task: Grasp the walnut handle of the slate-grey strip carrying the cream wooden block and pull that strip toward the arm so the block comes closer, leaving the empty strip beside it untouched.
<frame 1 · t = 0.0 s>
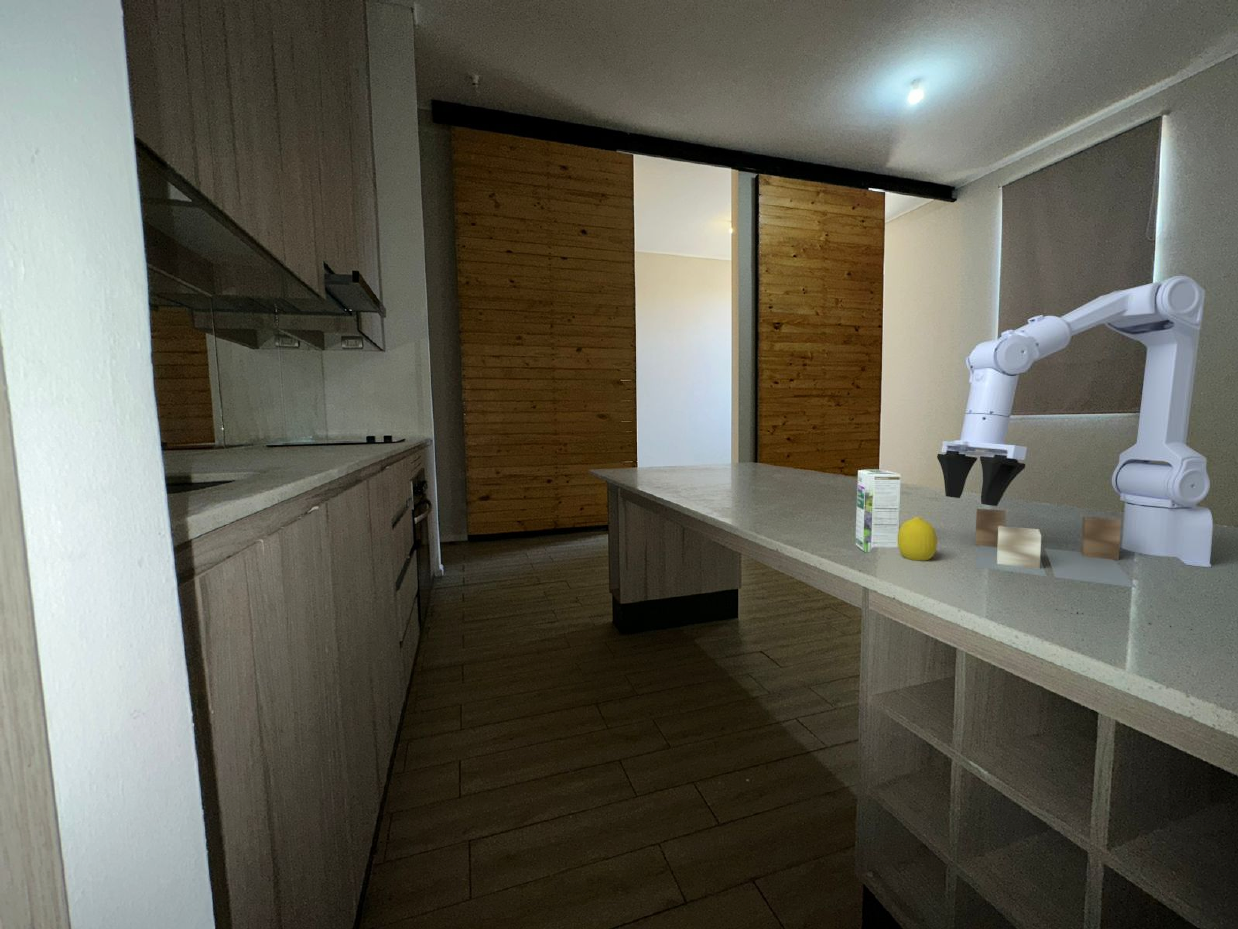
hand: (969, 501, 79), 11 cm above the counter, tool pointing down, fingers open, 7 cm apart
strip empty: (1087, 549, 74), point 4 cm above the counter, slide at 0.0 cm
lemon: (916, 566, 81), on the counter
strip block: (1007, 541, 80), point 4 cm above the counter, slide at 0.0 cm, touching block
syrup box: (876, 550, 91), on the counter
block: (1017, 562, 77), point 1 cm above the counter, touching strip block
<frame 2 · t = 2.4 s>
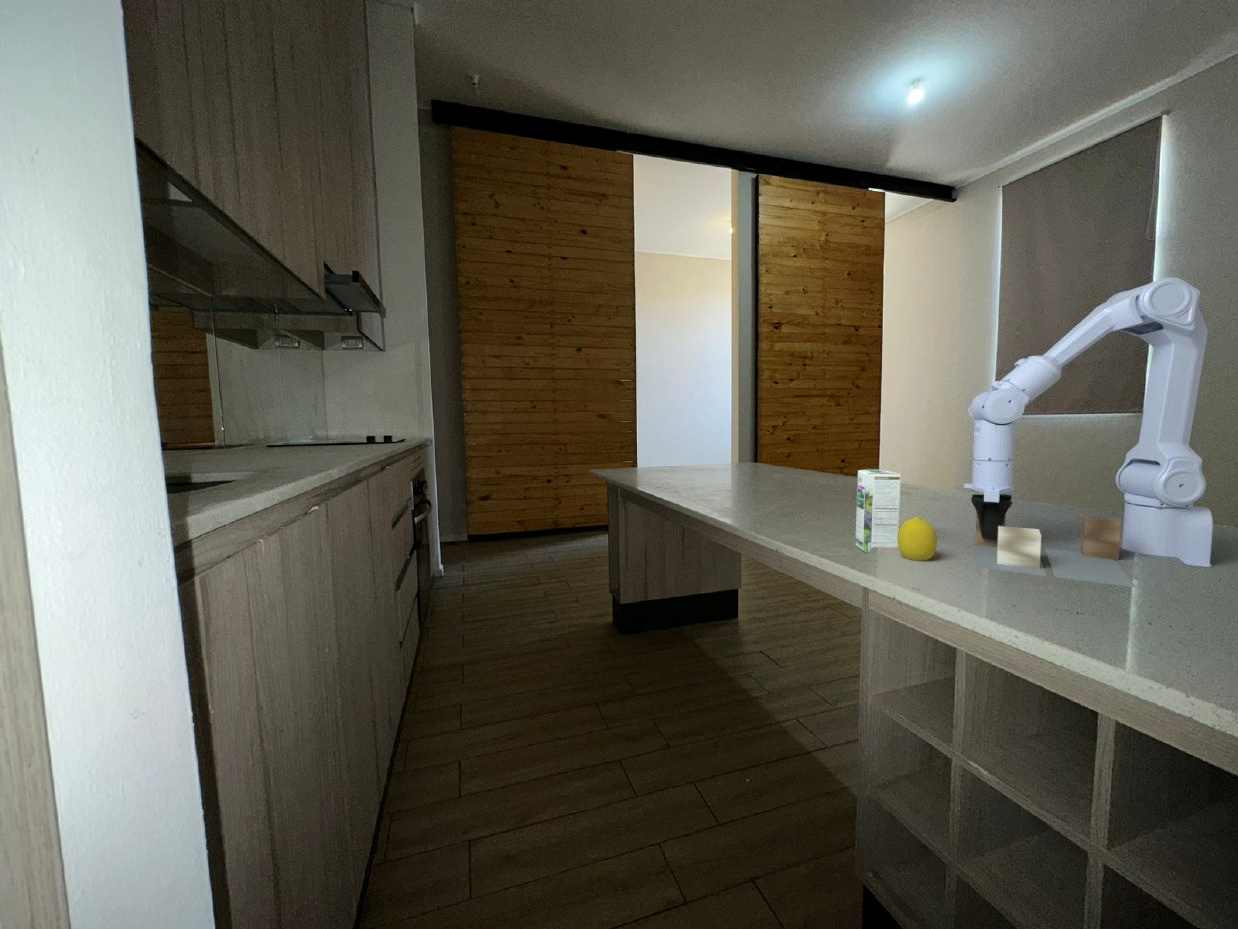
hand: (989, 536, 87), 3 cm above the counter, tool pointing down, fingers closed on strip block, 3 cm apart
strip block: (1007, 541, 80), point 4 cm above the counter, slide at 0.0 cm, touching block, gripper
everything else where it was.
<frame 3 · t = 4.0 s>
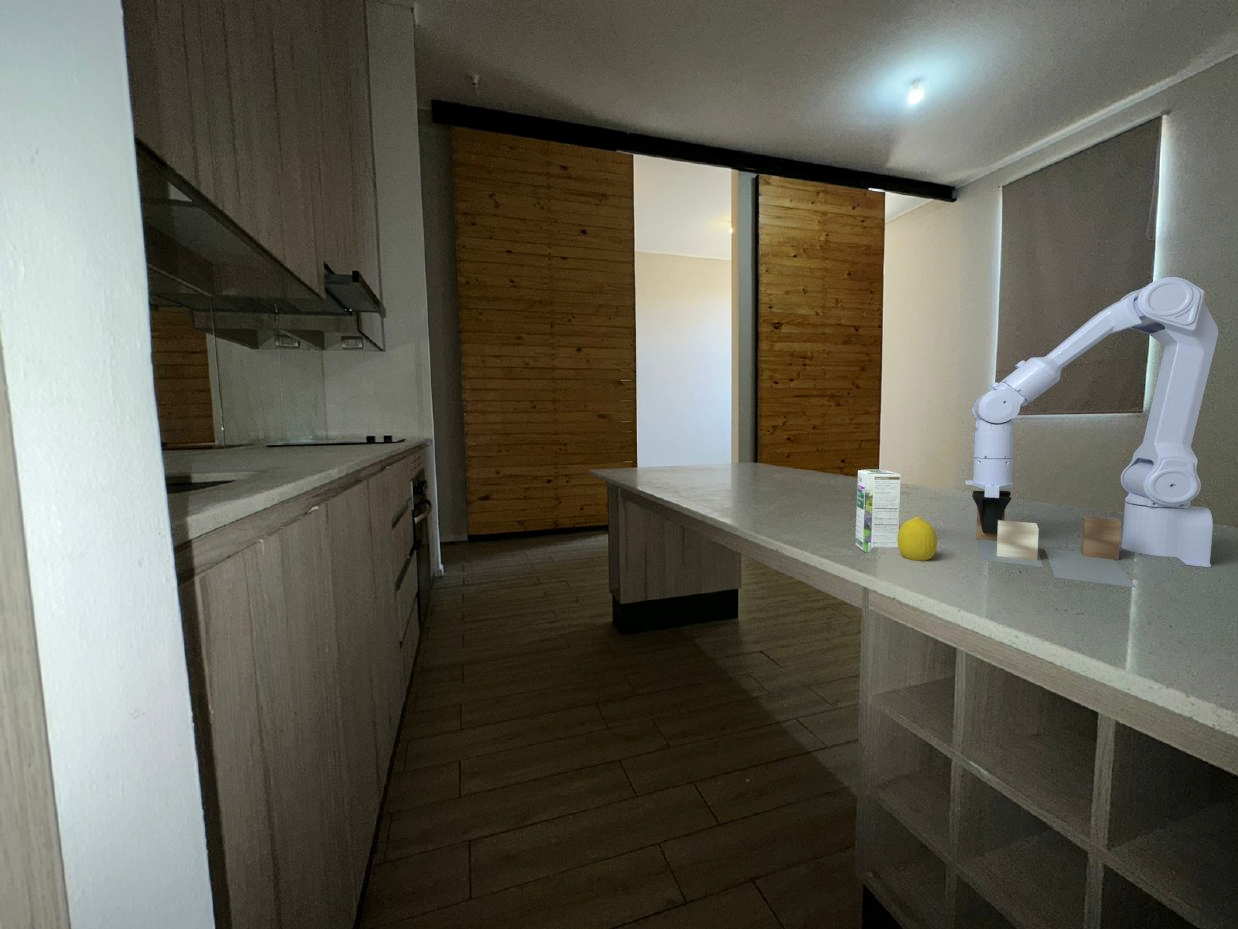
hand: (989, 531, 91), 3 cm above the counter, tool pointing down, fingers closed on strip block, 3 cm apart
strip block: (1006, 535, 84), point 4 cm above the counter, slide at 5.1 cm, touching block, gripper
block: (1016, 554, 81), point 1 cm above the counter, touching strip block
everything else where it was.
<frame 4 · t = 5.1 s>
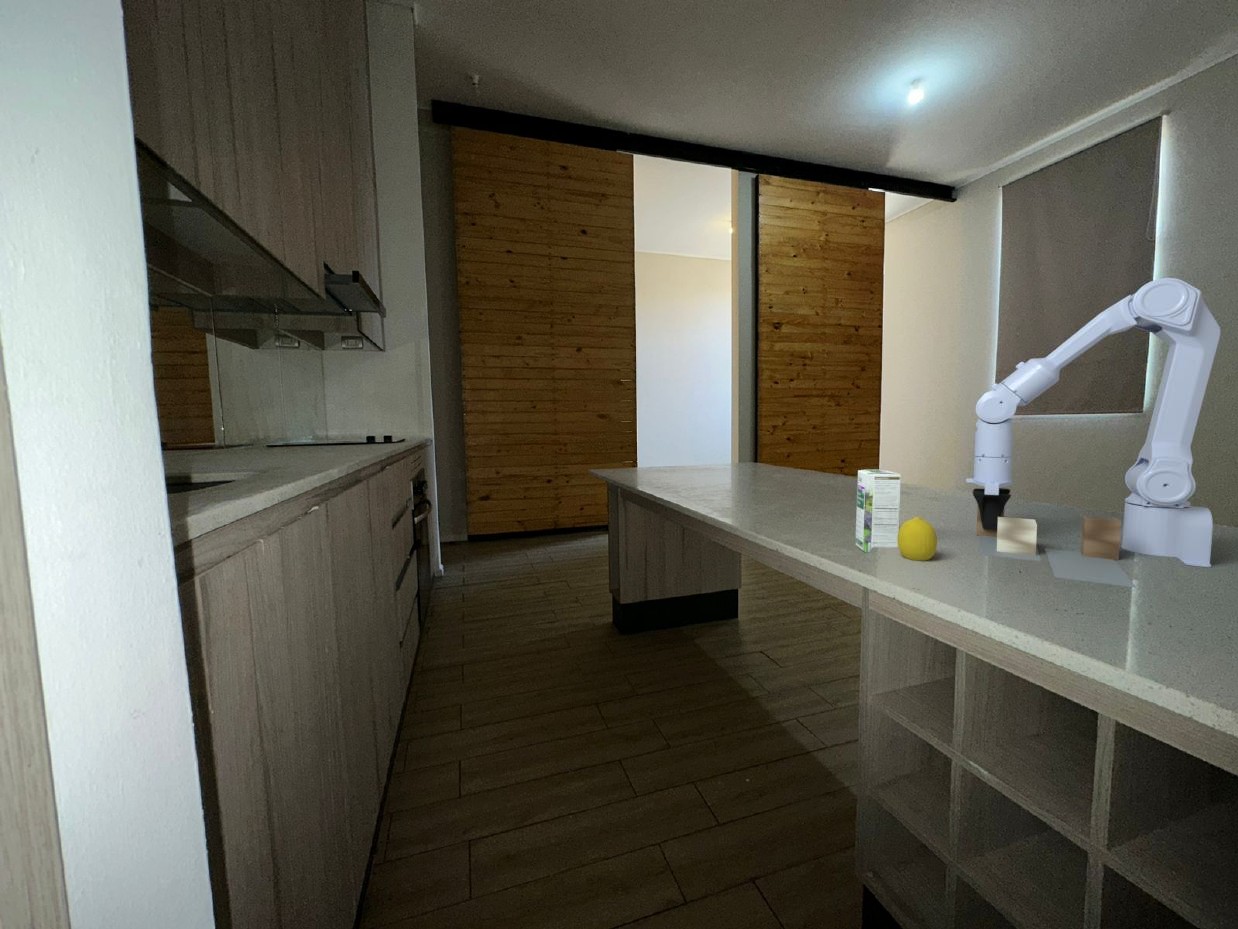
hand: (990, 527, 94), 3 cm above the counter, tool pointing down, fingers closed on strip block, 3 cm apart
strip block: (1006, 531, 86), point 4 cm above the counter, slide at 8.5 cm, touching block, gripper
block: (1015, 549, 84), point 1 cm above the counter, touching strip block
everything else where it was.
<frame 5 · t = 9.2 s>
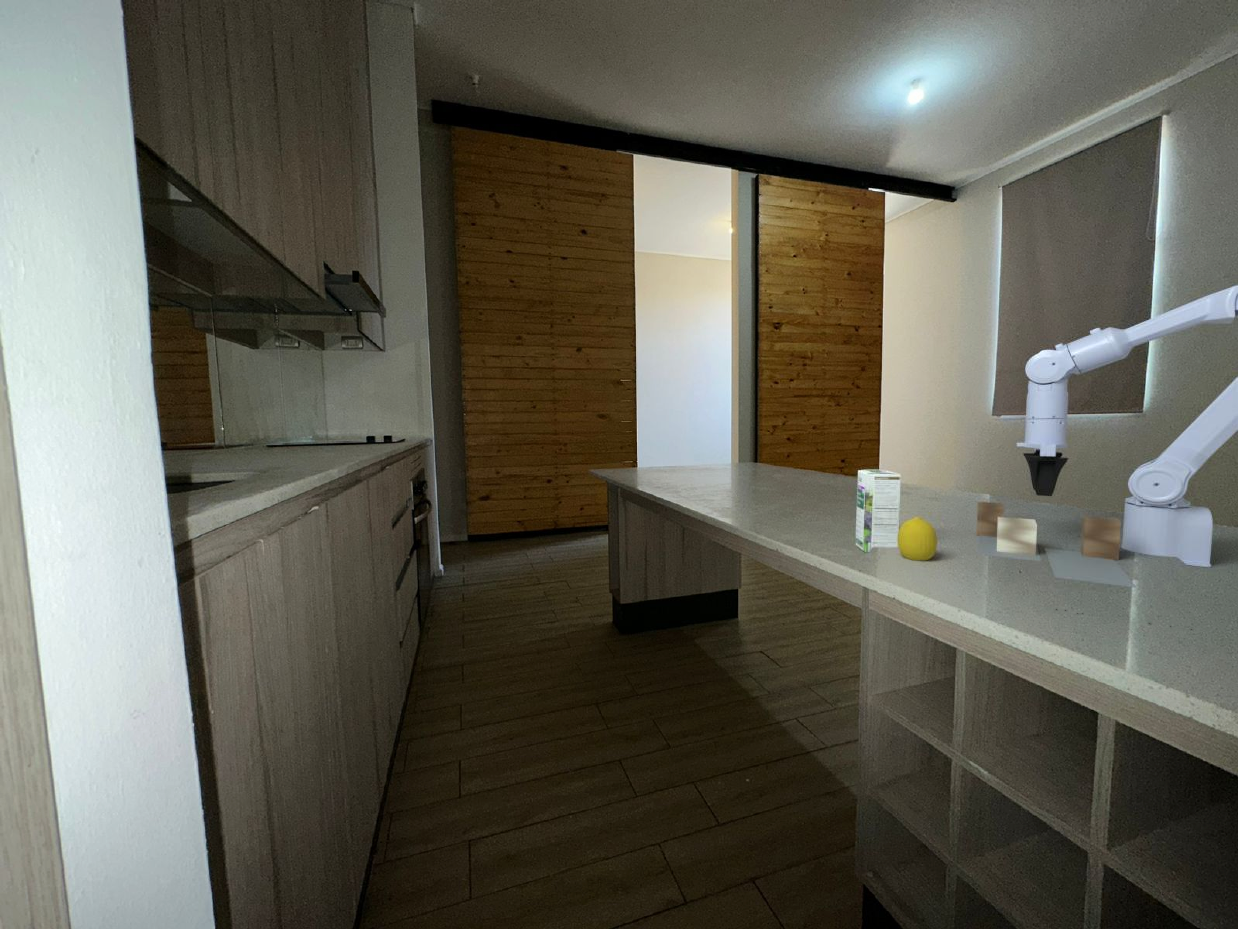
hand: (1042, 492, 91), 9 cm above the counter, tool pointing down, fingers open, 7 cm apart
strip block: (1006, 531, 86), point 4 cm above the counter, slide at 8.5 cm, touching block
everything else where it was.
at the end: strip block slide at 8.5 cm; block inside the target area (0.2 cm from its centre), point 1.2 cm above the counter; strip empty slide at 0.0 cm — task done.
